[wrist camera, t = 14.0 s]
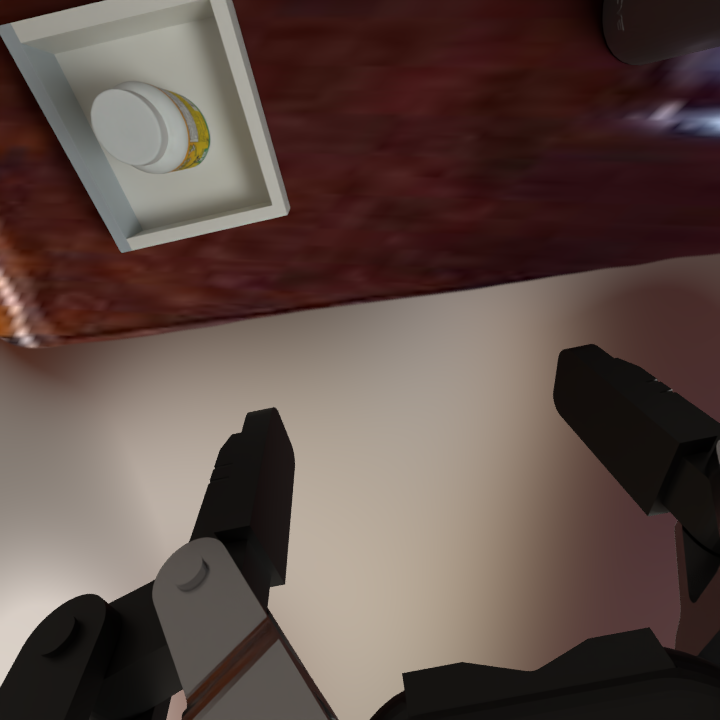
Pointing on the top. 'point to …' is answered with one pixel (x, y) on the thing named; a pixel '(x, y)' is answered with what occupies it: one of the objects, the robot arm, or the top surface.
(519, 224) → the top surface
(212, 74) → the box
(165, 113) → the supplement bottle
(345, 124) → the top surface
